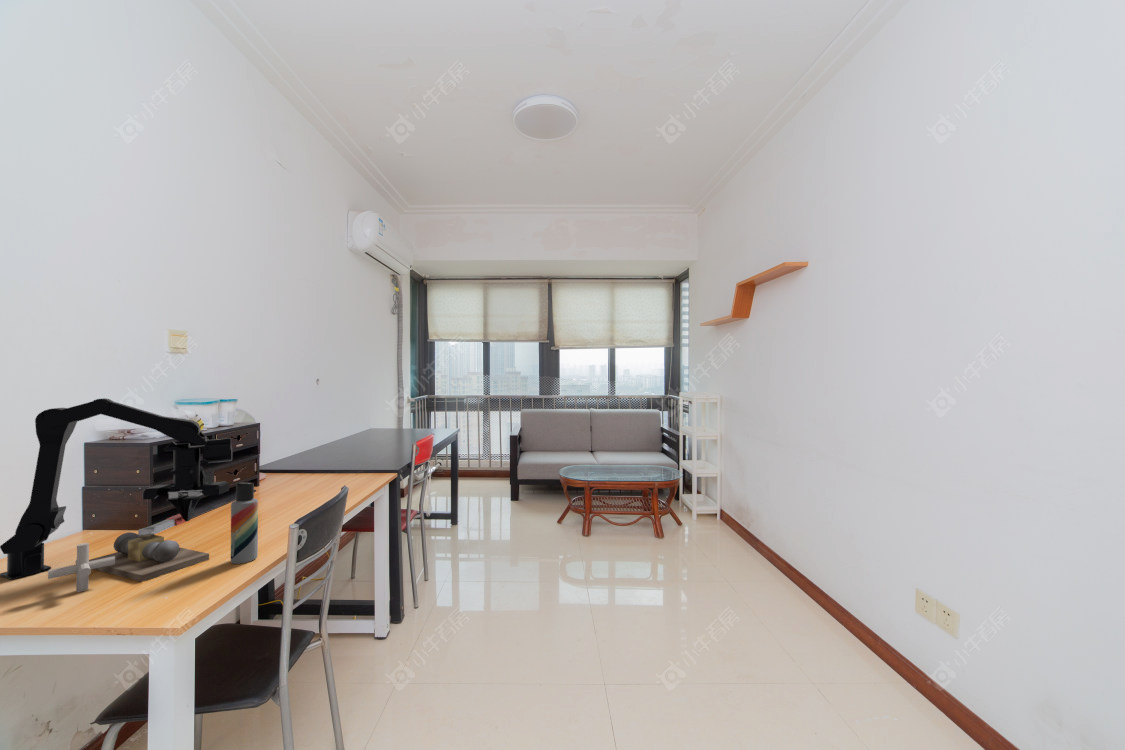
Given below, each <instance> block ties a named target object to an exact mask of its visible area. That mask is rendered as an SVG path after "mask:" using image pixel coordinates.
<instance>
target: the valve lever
mask: <svg viewBox="0 0 1125 750" xmlns="http://www.w3.org/2000/svg"><path fill="white" fill-rule="evenodd" d="M187 522H188V521H184V519H183V518H182V516H181V515H180V513H177V514H176V515H172V516H171V517H167V518H165V520H162V521H159V522H156V523H154V524H152V525H149V526H147V527H143V528H140V529H138V530H137V534H138V538H147V537H151V536H154V535H156V534H159V533H160V532H161V533H162V532H163V531H165V530H168V529H170V528H173V527H175V526H176V527H177V526H179V525H181V524H184V523H187Z"/></svg>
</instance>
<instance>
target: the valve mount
mask: <svg viewBox="0 0 1125 750" xmlns="http://www.w3.org/2000/svg"><path fill="white" fill-rule="evenodd" d="M113 548H114V549H113V550H115V552H114V553H110V554H106V555H102V556H98V557H95V558H91V559H89V562H90V561H94V560H99V559H104V558H108V557H113V556H115V564H113V565H108V566H104V567H100V568H95V569H94V570H95V571H99V572H103V573H107V574H109V575H114V576H117V577H122V578H126V579H129V580H132V581H133V580H134V581H137V582H141V583H142V582H146V581H149V580H151V579H154V578H158V577H161V576H163V575H167V574H170V573H172V572H175V571H178V570H182V569H184V568H187V567H188V568H189V567H191V566H194V565H197V564H199V563H200V564H201V563H202V562H205V561H209V560H210V553H209V552H208V553H207V552H204V551H198V550H195V549H188V548H184V547H180V545H179V543H178V541H175V540H171V539H166V540H165V536H163V535H156V534H154V536H151V537H147V538H138V533H135V532H131V531H129V532H124V533H122V534H120V535H119V536H117V537H116V538H115V540H114V542H113Z"/></svg>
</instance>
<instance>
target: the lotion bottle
mask: <svg viewBox="0 0 1125 750" xmlns="http://www.w3.org/2000/svg"><path fill="white" fill-rule="evenodd" d="M254 484H255V483H254V482H246V481H243V482H238V483H236V484H235V500H234V501H231V503H230V562H231V563H232V564H233V565H236V564H237V565H238V564H240V563H241V564H246V562H247V563H249V561H250V562H252V560H253V561H254V559H255V560H256V559H258V554H259V553H258V552H259V499H258V498H255V496H254V495H255V493H254V492H255V490H254V489H255V485H254Z"/></svg>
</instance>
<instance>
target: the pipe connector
mask: <svg viewBox="0 0 1125 750" xmlns="http://www.w3.org/2000/svg"><path fill="white" fill-rule="evenodd" d="M89 553H90V543H89V542H84V543H83V542H81V543H79V544H76V560H75V562H74V563H75V564H72V565H68V566H67V565H66V566H63V567H58V568H53V569H49V570H47V580H50V579H54V578H59V577H64V576H68V575H72V574H76V585H75V586H76V589H75V591H76V592H77V593H80V592H84V591H87V590H89V578H90V577H89V575H90V574H91V572H92V570H95V568H100V567H104V566H108V565H113V564H115V556H113V557H108V558H104V559H99V560H94V561H90V562H89V560H90V554H89Z"/></svg>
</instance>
